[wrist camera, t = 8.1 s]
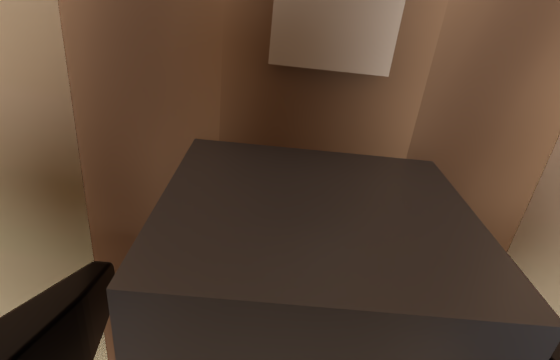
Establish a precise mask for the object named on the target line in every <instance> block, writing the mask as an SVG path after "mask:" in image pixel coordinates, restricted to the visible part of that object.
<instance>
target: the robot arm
mask: <svg viewBox="0 0 560 360" xmlns="http://www.w3.org/2000/svg"><path fill="white" fill-rule="evenodd" d="M114 275H115V270H114V266H113V264H112V263H111V262H103V261H94V262H91V263H90V264H88V265H86V266H85V267H83V268H81V269H80V270H78V271H76V272H75V273H73V274H71V275H70V276H68V277H66V278H65V279H63V280H61V281H60V282H58V283H56V284H55V285H53V286H51V287H50V288H48V289H47V290H45V291H43V292H42V293H40V294H38V295H37V296H35V297H33V298H32V299H30V300H28V301H27V302H25V303H23V304H22V305H20V306H18V307H17V308H15V309H13V310H12V311H10V312H8V313H7V314H5V315H3V316H2V317H0V360H93V359H94V357H95V354H96V351H97V349H98V346H99V343H100V340H101V338H102V335H103V332H104V329H105V327H106V324H107V321H108V318H109V316H110V314H109V307H108V299H107V292H106V288H107V287H108V285H109V283H110V282H111V280H112V278H113V277H114ZM549 360H560V342H559V344H558V345H557V347H556V349H555V350H554V352H553V354H552V355H551V357H550V359H549Z"/></svg>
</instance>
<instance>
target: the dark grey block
mask: <svg viewBox="0 0 560 360" xmlns="http://www.w3.org/2000/svg"><path fill="white" fill-rule="evenodd" d="M106 292H107V299H108V307H109V314H110V321H111V329H112V336H113V344H114V351H115V358H116V360H549V359H550V357H551V355H552V354H553V352H554V350H555V349H556V347H557V345H558V344H559V342H560V318H559V316H558V315H557V314H556V313H555V312H554V310H553V309H552V308H551V307H550V305H549V304H548V303H547V302H546V300H545V299H544V298H543V297H542V295H541V294H540V293H539V292H538V291H537V289H536V288H535V287H534V286H533V284H532V283H531V282H530V281H529V279H528V278H527V277H526V276H525V275H524V273H523V272H522V271H521V270H520V268H519V267H518V266H517V265H516V263H515V262H514V261H513V260H512V258H511V257H510V256H509V255H508V254H507V252H506V251H505V250H504V249H503V247H502V246H501V245H500V244H499V242H498V241H497V240H496V239H495V238H494V236H493V235H492V234H491V233H490V231H489V230H488V229H487V228H486V226H485V225H484V224H483V223H482V221H481V220H480V219H479V218H478V217H477V215H476V214H475V213H474V212H473V210H472V209H471V208H470V207H469V205H468V204H467V203H466V202H465V200H464V199H463V198H462V197H461V196H460V194H459V193H458V192H457V191H456V189H455V188H454V187H453V186H452V184H451V183H450V182H449V181H448V180H447V178H446V177H445V176H444V175H443V173H442V172H441V171H440V170H439V168H438V167H437V166H436V165H435V163H434V162H433V161H425V160H414V159H404V158H393V157H383V156H372V155H362V154H351V153H341V152H330V151H320V150H309V149H299V148H288V147H278V146H267V145H257V144H246V143H236V142H225V141H215V140H204V139H194V141H193V143H192V144H191V146H190V148H189V149H188V151H187V153H186V154H185V156H184V158H183V160H182V161H181V163H180V165H179V166H178V168H177V170H176V171H175V173H174V175H173V177H172V178H171V180H170V182H169V183H168V185H167V187H166V188H165V190H164V192H163V193H162V195H161V197H160V199H159V200H158V202H157V204H156V205H155V207H154V209H153V210H152V212H151V214H150V216H149V217H148V219H147V221H146V222H145V224H144V226H143V227H142V229H141V231H140V233H139V234H138V236H137V238H136V239H135V241H134V243H133V244H132V246H131V248H130V249H129V251H128V253H127V255H126V256H125V258H124V260H123V261H122V263H121V265H120V266H119V268H118V270H117V272H116V273H115V275H114V277H113V278H112V280H111V282H110V283H109V285H108V287H107V288H106Z"/></svg>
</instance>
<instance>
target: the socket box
mask: <svg viewBox="0 0 560 360" xmlns="http://www.w3.org/2000/svg"><path fill="white" fill-rule="evenodd" d="M58 6H59V13H60V20H61V27H62V34H63V41H64V49H65V56H66V63H67V70H68V77H69V84H70V91H71V99H72V106H73V113H74V120H75V127H76V134H77V142H78V149H79V156H80V163H81V170H82V177H83V185H84V192H85V199H86V206H87V213H88V220H89V227H90V235H91V242H92V249H93V256H94V261H103V262H111V263H112V264H113V266H114V270H115V273H116V272H117V270H118V268H119V266H120V265H121V263H122V261H123V260H124V258H125V256H126V255H127V253H128V251H129V249H130V248H131V246H132V244H133V243H134V241H135V239H136V238H137V236H138V234H139V233H140V231H141V229H142V227H143V226H144V224H145V222H146V221H147V219H148V217H149V216H150V214H151V212H152V210H153V209H154V207H155V205H156V204H157V202H158V200H159V199H160V197H161V195H162V193H163V192H164V190H165V188H166V187H167V185H168V183H169V182H170V180H171V178H172V177H173V175H174V173H175V171H176V170H177V168H178V166H179V165H180V163H181V161H182V160H183V158H184V156H185V154H186V153H187V151H188V149H189V148H190V146H191V144H192V143H193V141H194V139H204V140H215V141H225V142H236V143H246V144H257V145H267V146H278V147H288V148H299V149H309V150H320V151H330V152H341V153H351V154H362V155H372V156H383V157H393V158H404V159H414V160H425V161H433V162H434V163H435V165H436V166H437V167H438V168H439V170H440V171H441V172H442V173H443V175H444V176H445V177H446V178H447V180H448V181H449V182H450V183H451V184H452V186H453V187H454V188H455V189H456V191H457V192H458V193H459V194H460V196H461V197H462V198H463V199H464V200H465V202H466V203H467V204H468V205H469V207H470V208H471V209H472V210H473V212H474V213H475V214H476V215H477V217H478V218H479V219H480V220H481V221H482V223H483V224H484V225H485V226H486V228H487V229H488V230H489V231H490V233H491V234H492V235H493V236H494V238H495V239H496V240H497V241H498V242H499V244H500V245H501V246H502V247H503V249H504V250H505V251H506V252H507V251H508V249H509V246H510V244H511V242H512V240H513V238H514V235H515V233H516V231H517V229H518V226H519V224H520V222H521V220H522V217H523V215H524V213H525V211H526V208H527V206H528V204H529V202H530V200H531V197H532V195H533V193H534V191H535V188H536V186H537V184H538V182H539V179H540V177H541V175H542V173H543V170H544V168H545V166H546V164H547V162H548V159H549V157H550V155H551V153H552V150H553V148H554V146H555V144H556V141H557V139H558V137H559V135H560V0H58ZM104 335H105V342H106V349H107V356H108V360H116V358H115V351H114V344H113V336H112V329H111V321H110V316H109V318H108V321H107V324H106V327H105V329H104Z"/></svg>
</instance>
